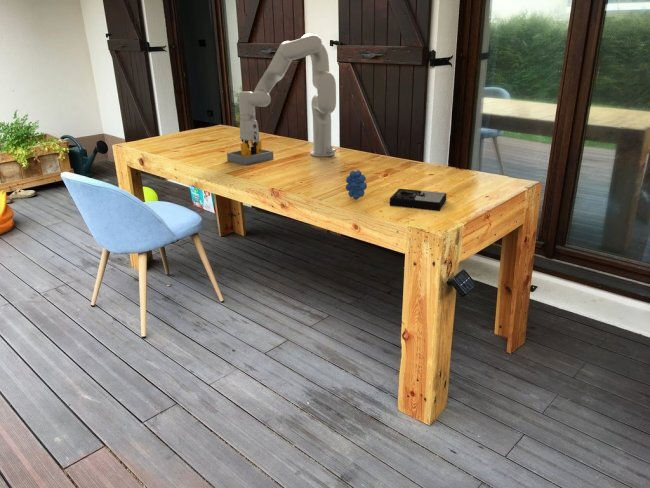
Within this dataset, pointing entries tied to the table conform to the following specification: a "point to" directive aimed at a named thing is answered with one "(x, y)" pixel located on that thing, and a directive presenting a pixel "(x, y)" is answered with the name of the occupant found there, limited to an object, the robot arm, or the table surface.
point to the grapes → (356, 184)
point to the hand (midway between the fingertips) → (250, 153)
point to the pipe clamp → (249, 149)
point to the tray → (249, 157)
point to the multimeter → (418, 199)
